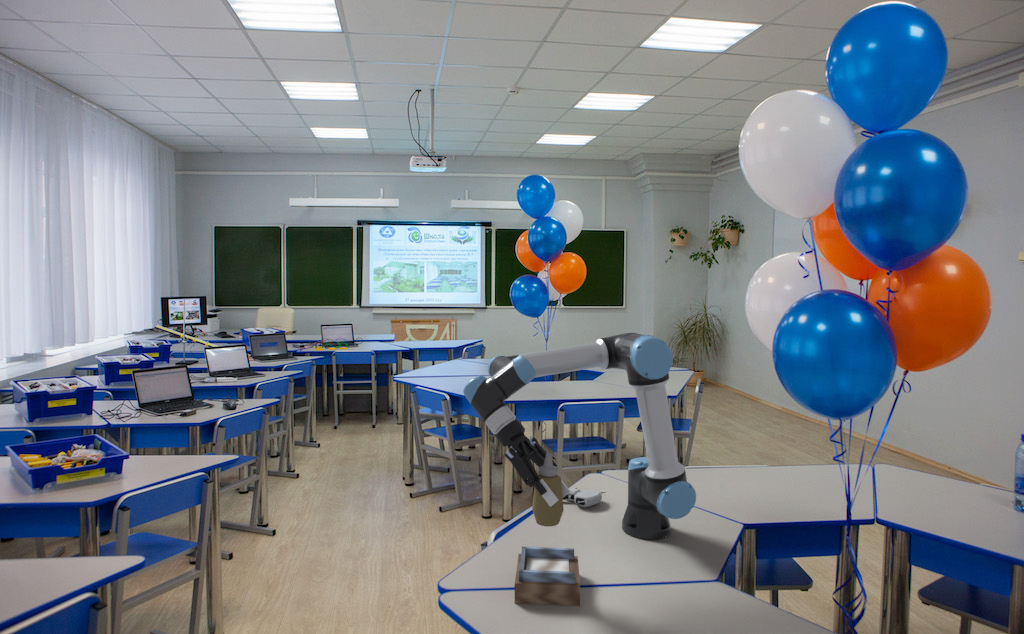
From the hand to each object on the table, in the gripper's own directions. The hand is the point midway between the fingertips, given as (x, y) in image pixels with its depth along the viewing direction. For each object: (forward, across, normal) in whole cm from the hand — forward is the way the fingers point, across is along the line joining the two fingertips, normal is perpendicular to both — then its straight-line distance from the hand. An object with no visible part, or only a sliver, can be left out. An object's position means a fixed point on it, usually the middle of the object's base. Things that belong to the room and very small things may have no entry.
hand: (560, 498), depth 150 cm
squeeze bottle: (+2, 0, -8) cm, 8 cm away
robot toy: (+3, -60, -32) cm, 68 cm away
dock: (+15, 0, -20) cm, 24 cm away
